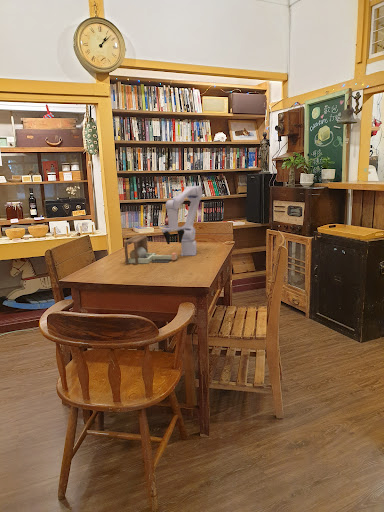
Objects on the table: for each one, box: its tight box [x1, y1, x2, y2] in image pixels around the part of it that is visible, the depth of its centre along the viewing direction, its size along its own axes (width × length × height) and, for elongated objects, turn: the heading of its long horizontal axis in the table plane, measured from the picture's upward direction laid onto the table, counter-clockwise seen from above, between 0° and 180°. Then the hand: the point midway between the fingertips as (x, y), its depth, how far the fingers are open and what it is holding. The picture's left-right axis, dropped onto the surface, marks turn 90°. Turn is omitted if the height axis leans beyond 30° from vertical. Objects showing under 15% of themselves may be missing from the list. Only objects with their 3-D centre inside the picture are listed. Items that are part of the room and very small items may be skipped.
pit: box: [151, 259, 173, 264], centre depth 217 cm, size 10×12×1 cm
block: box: [124, 251, 178, 264], centre depth 218 cm, size 28×17×4 cm, turn 80°
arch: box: [123, 234, 149, 266], centre depth 219 cm, size 7×22×14 cm, turn 170°
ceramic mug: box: [129, 247, 148, 258], centre depth 218 cm, size 11×8×8 cm
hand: (174, 243), depth 218 cm, fingers open, 7 cm apart
